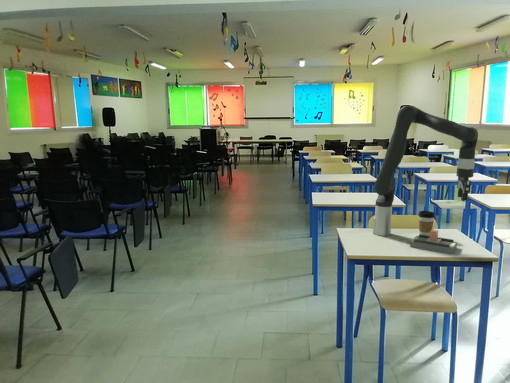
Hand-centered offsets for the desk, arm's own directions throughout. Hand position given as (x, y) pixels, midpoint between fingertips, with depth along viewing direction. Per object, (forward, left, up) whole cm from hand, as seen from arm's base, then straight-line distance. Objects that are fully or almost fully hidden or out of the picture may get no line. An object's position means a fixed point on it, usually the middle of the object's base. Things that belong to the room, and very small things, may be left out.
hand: (462, 198), depth 197 cm
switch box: (-11, -8, -26) cm, 29 cm away
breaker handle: (-11, -8, -23) cm, 26 cm away
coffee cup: (-19, +8, -26) cm, 33 cm away
